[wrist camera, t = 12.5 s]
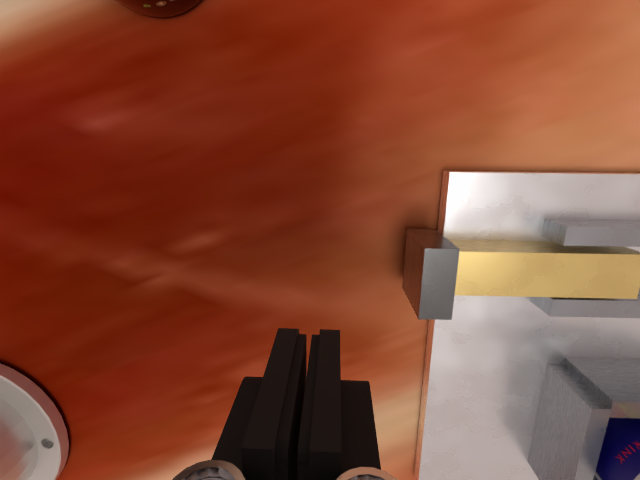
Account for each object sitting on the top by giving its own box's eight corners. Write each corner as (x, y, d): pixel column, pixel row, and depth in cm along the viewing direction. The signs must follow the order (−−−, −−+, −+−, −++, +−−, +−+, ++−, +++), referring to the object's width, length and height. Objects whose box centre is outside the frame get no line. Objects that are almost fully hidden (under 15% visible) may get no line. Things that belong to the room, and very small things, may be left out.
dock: (413, 473, 26) (433, 551, 21) (443, 170, 21) (479, 179, 16) (663, 481, 26) (743, 562, 21) (763, 174, 20) (905, 184, 15)
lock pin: (402, 287, 21) (418, 319, 18) (406, 228, 20) (424, 248, 17) (600, 291, 21) (661, 324, 17) (614, 231, 20) (681, 252, 16)
